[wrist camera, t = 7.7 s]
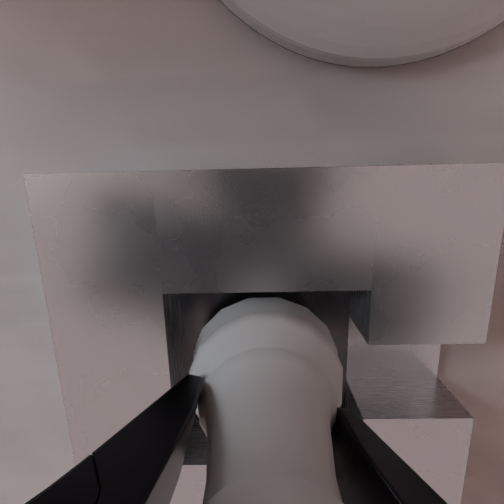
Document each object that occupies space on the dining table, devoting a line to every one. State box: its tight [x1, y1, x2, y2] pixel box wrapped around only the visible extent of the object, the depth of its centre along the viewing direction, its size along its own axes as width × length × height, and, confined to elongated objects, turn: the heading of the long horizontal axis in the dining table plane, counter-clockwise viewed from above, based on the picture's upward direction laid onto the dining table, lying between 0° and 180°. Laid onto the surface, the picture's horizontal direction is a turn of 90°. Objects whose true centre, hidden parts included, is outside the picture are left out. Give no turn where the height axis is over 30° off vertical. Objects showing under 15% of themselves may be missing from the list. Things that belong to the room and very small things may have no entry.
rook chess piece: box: [189, 297, 344, 504], centre depth 6 cm, size 4×4×8 cm
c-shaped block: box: [23, 163, 504, 504], centre depth 10 cm, size 12×12×2 cm
